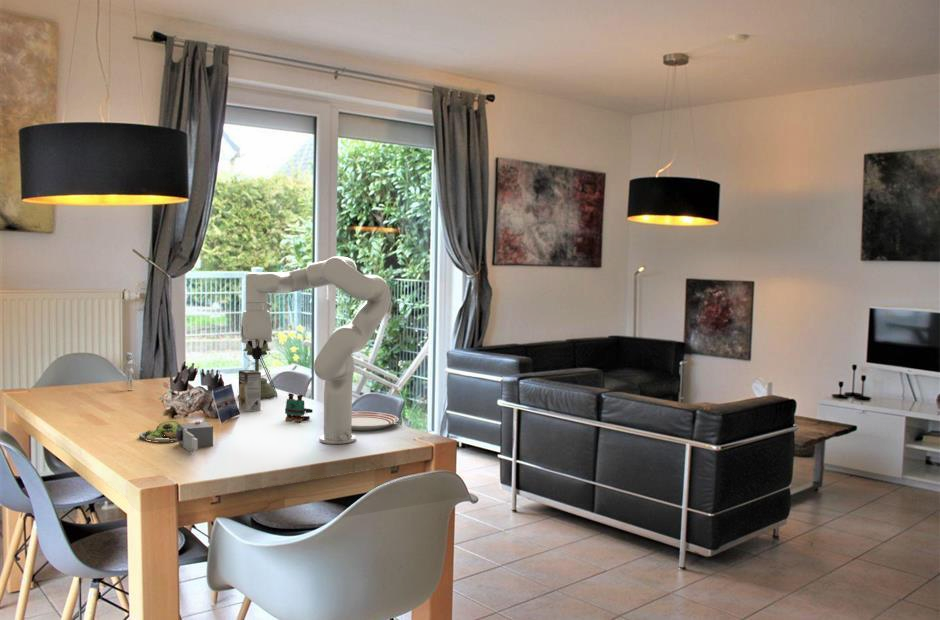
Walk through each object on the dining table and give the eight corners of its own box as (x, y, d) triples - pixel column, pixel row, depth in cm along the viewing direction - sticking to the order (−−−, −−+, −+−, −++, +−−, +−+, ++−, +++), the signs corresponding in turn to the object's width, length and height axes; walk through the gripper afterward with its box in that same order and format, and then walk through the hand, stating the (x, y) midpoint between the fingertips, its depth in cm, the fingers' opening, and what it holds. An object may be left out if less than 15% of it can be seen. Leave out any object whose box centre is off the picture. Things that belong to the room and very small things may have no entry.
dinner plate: (400, 419, 306) (400, 410, 306) (396, 433, 279) (396, 424, 279) (331, 418, 305) (331, 410, 305) (320, 433, 278) (320, 424, 278)
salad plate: (211, 438, 268) (211, 425, 268) (165, 447, 253) (165, 433, 253) (178, 430, 279) (178, 418, 279) (132, 439, 265) (132, 425, 264)
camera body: (213, 445, 255) (212, 424, 255) (180, 449, 250) (180, 427, 249) (206, 440, 263) (206, 419, 262) (175, 443, 257) (175, 422, 257)
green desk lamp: (238, 393, 359) (238, 330, 357) (277, 392, 364) (277, 329, 362) (237, 401, 339) (237, 333, 338) (277, 400, 344) (278, 333, 342)
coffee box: (238, 408, 322) (238, 370, 321) (252, 406, 326) (252, 369, 325) (246, 411, 315) (246, 372, 314) (261, 410, 319) (261, 371, 318)
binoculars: (317, 394, 303) (300, 395, 294) (315, 421, 303) (298, 422, 294) (299, 392, 307) (282, 393, 298) (297, 418, 307) (280, 420, 298)
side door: (194, 455, 239) (194, 436, 239) (183, 447, 250) (183, 429, 249) (197, 455, 240) (197, 436, 239) (186, 447, 250) (186, 429, 250)
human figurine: (117, 392, 357) (117, 353, 356) (114, 391, 360) (114, 353, 359) (143, 389, 365) (143, 352, 364) (140, 388, 368) (140, 351, 367)
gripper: (274, 306, 278) (274, 356, 279) (232, 307, 270) (232, 358, 271) (280, 307, 271) (280, 359, 272) (238, 308, 264) (238, 361, 265)
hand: (256, 358), depth 272 cm, fingers closed
